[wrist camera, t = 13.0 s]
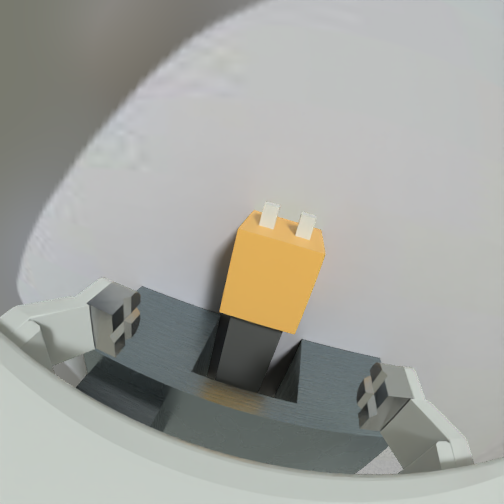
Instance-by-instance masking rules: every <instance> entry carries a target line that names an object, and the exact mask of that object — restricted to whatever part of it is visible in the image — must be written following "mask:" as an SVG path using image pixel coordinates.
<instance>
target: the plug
mask: <svg viewBox="0 0 504 504" xmlns="http://www.w3.org/2000/svg"><path fill="white" fill-rule="evenodd" d="M280 206H281V205H278V204H275V203H271V202H268V201H266V202H265V204H264V207H263V211H262V212H259V211H255V210H254V211H253V212H252V213H251V214H250V215H249V216H248V218H247V219H246V220H245V221H244V222H243V223H242V225H241V226H240V227H239V228H238V231H237V235H236V240H235V244H234V248H233V253H232V257H231V261H230V266H229V270H228V275H227V279H226V284H225V288H224V293H223V297H222V302H221V306H220V311H219V312H221V313H224V314H227V315H230V316H231V317H230V321H229V326H228V330H227V334H226V338H225V342H224V346H223V350H222V354H221V358H220V362H219V366H218V370H217V374H216V379H215V380H216V381H219V382H222V383H225V384H228V385H231V386H234V387H237V388H240V389H244V390H247V391H251V392H254V393H258V391H259V389H260V386H261V384H262V381H263V379H264V377H265V374H266V372H267V369H268V367H269V365H270V362H271V360H272V357H273V355H274V352H275V350H276V347H277V345H278V342H279V339H280V337H281V334H282V332H283V331H284V332H287V333H291V334H295V332H296V330H297V328H298V325H299V323H300V320H301V318H302V315H303V313H304V310H305V308H306V305H307V303H308V300H309V298H310V295H311V292H312V290H313V287H314V284H315V282H316V279H317V276H318V274H319V271H320V268H321V266H322V263H323V260H324V257H325V248H324V243H323V237H322V231H321V230H320V229H317V228H314V225H315V222H316V216H315V215H312V214H309V213H306V212H301V216H300V219H299V223H297V222H294V221H290V220H287V219H283V218H280V217H278V213H279V209H280Z"/></svg>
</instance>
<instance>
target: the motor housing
mask: <svg viewBox="0 0 504 504" xmlns="http://www.w3.org/2000/svg"><path fill="white" fill-rule="evenodd" d="M137 292H139V294H140V295H141V303H140V304H139V305H138V306H137V308H138V310H139V312H140V323H139V326H138V329H137V331H136V333H135V334H134V336H133V337H132V338H130V339H127V340H125V347H124V348H123V349H122V350H121V351H120V353H119V354H118V355H117V356H116V358H115V357H113V356H111V355H109V354H107V353H105V352H103V351H100V350H98V349H96V348H95V349H94V350H91V351H89V352H86V353H84V358H85V363H86V368H87V372H88V374H87V375H86V376H85V378H84V379H83V380H82V381H81V382H80V384H79V385H78V386H77V387H76V388H77V389H78V390H80V391H81V392H83V393H85V394H87V395H88V396H90V397H92V398H93V399H95V400H97V401H99V402H101V403H102V404H104V405H106V406H108V407H110V408H112V409H114V410H116V411H118V412H120V413H122V414H124V415H126V416H128V417H130V418H132V419H134V420H136V421H138V422H140V423H143V424H145V425H147V426H149V427H152V428H154V429H156V430H159V431H161V432H164V433H166V434H169V435H171V436H174V437H177V438H179V439H182V440H185V441H188V442H190V443H193V444H196V445H199V446H202V447H205V448H209V449H212V450H215V451H218V452H222V453H225V454H229V455H233V456H237V457H240V458H245V459H249V460H253V461H258V462H262V463H267V464H272V465H277V466H283V467H289V468H295V469H302V470H310V471H319V472H329V473H343V474H355V473H357V472H358V471H359V470H361V469H362V468H363V467H364V466H366V465H367V464H368V463H369V462H371V461H372V460H373V459H374V458H375V457H377V456H378V455H379V454H380V453H381V452H382V451H384V450H385V449H386V448H387V447H388V444H387V442H386V441H385V439H384V438H383V436H382V435H381V433H380V432H381V431H374V430H366V429H360V428H359V418H358V413H359V412H360V411H361V408H360V407H359V406H358V405H357V400H356V397H357V391H358V388H359V385H360V384H361V382H362V381H363V379H364V378H366V377H368V376H370V369H371V367H372V366H373V365H374V364H375V363H376V362H379V363H381V361H380V358H376V357H372V356H367V355H363V354H359V353H354V352H350V351H346V350H342V349H338V348H334V347H330V346H326V345H322V344H318V343H314V342H310V341H307V340H303V339H302V341H301V343H300V345H299V347H298V349H297V351H296V354H295V356H294V358H293V360H292V362H291V364H290V366H289V368H288V370H287V372H286V375H285V377H284V379H283V381H282V383H281V385H280V387H279V389H278V391H277V393H276V395H275V398H272V397H269V396H265V395H261V394H258V393H254V392H251V391H247V390H244V389H240V388H237V387H234V386H231V385H228V384H225V383H222V382H219V381H216V380H213V379H210V378H207V377H206V376H207V373H208V369H209V364H210V360H211V355H212V351H213V346H214V342H215V338H216V333H217V329H218V324H219V320H220V316H221V315H220V314H217V313H214V312H211V311H208V310H205V309H203V308H200V307H197V306H194V305H191V304H188V303H185V302H183V301H180V300H177V299H174V298H172V297H169V296H166V295H164V294H161V293H158V292H156V291H153V290H151V289H148V288H145V287H143V286H142V287H140V288H139V289H138V290H137Z"/></svg>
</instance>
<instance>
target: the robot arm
mask: <svg viewBox="0 0 504 504" xmlns="http://www.w3.org/2000/svg"><path fill="white" fill-rule="evenodd" d="M140 303H141V295H140V294H139V292H137V291H135V290H132V289H130V288H128V287H125V286H123V285H121V284H118V283H116V282H114V281H111V280H109V279H107V278H99V279H98V280H97V281H95V282H94V283H93V284H91V285H90V286H89V287H87V288H86V289H85V290H84V291H82V292H81V293H80V294H78V295H77V296H76V297H72V296H69V297H63V298H58V299H53V300H47V301H42V302H36V303H31V304H25V305H20V306H15V307H13V308H12V309H10V310H9V311H8V312H6V313H5V314H4V315H2V316H1V317H0V504H504V457H501V458H497V459H494V460H490V461H486V462H482V463H477V464H474V462H473V458H472V455H471V451H470V448H469V445H468V442H467V439H466V438H465V437H464V435H463V434H462V433H461V432H460V431H459V430H458V429H457V428H456V427H455V426H454V425H453V424H452V423H451V422H450V421H449V420H448V419H447V418H446V417H445V416H444V415H443V414H442V413H441V412H440V411H439V410H438V409H437V408H436V407H435V406H434V405H433V404H432V403H431V402H430V401H428V400H425V397H424V394H423V391H422V388H421V385H420V382H419V379H418V377H417V374H416V371H415V370H414V369H413V368H411V367H404V366H395V365H390V364H384V363H379V362H376V363H375V364H374V365H373V366H372V367H371V369H370V376H368V377H366V378H364V379H363V381H362V382H361V384H360V385H359V388H358V391H357V397H356V400H357V405H358V406H359V407H360V408H361V411H360V412H359V413H358V418H359V428H360V429H366V430H374V431H381V432H380V433H381V435H382V436H383V438H384V439H385V441H386V442H387V444H388V446H389V447H390V449H391V450H392V452H393V453H394V455H395V457H396V458H397V460H398V461H399V463H400V464H401V466H402V468H403V470H402V471H400V472H399V473H398V474H343V473H329V472H319V471H310V470H302V469H295V468H289V467H283V466H277V465H272V464H267V463H262V462H258V461H253V460H249V459H245V458H240V457H237V456H233V455H229V454H225V453H222V452H218V451H215V450H212V449H209V448H205V447H202V446H199V445H196V444H193V443H190V442H188V441H185V440H182V439H179V438H177V437H174V436H171V435H169V434H166V433H164V432H161V431H159V430H156V429H154V428H152V427H149V426H147V425H145V424H143V423H140V422H138V421H136V420H134V419H132V418H130V417H128V416H126V415H124V414H122V413H120V412H118V411H116V410H114V409H112V408H110V407H108V406H106V405H104V404H102V403H101V402H99V401H97V400H95V399H93V398H92V397H90V396H88V395H87V394H85V393H83V392H81V391H80V390H78V389H77V388H75V387H73V386H72V385H70V384H69V383H67V382H65V381H64V380H62V379H61V378H59V377H58V376H57V375H55V373H54V370H53V367H52V366H54V365H57V364H59V363H62V362H64V361H67V360H69V359H72V358H74V357H77V356H79V355H82V354H84V353H86V352H89V351H91V350H94V349H95V348H96V349H98V350H100V351H103V352H105V353H107V354H109V355H111V356H113V357H115V358H116V356H117V355H118V354H119V353H120V351H121V350H122V349H123V348H124V347H125V340H127V339H130V338H132V337H133V336H134V334H135V333H136V331H137V329H138V326H139V323H140V312H139V310H138V308H137V306H138V305H139V304H140Z"/></svg>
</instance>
